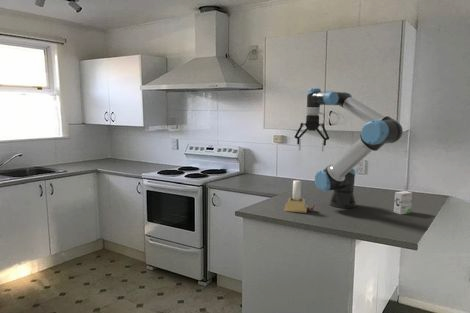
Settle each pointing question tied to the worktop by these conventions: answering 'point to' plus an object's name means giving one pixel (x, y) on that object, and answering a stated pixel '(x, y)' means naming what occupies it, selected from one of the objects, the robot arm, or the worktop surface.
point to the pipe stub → (296, 190)
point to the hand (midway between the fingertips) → (311, 150)
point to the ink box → (402, 202)
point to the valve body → (297, 206)
